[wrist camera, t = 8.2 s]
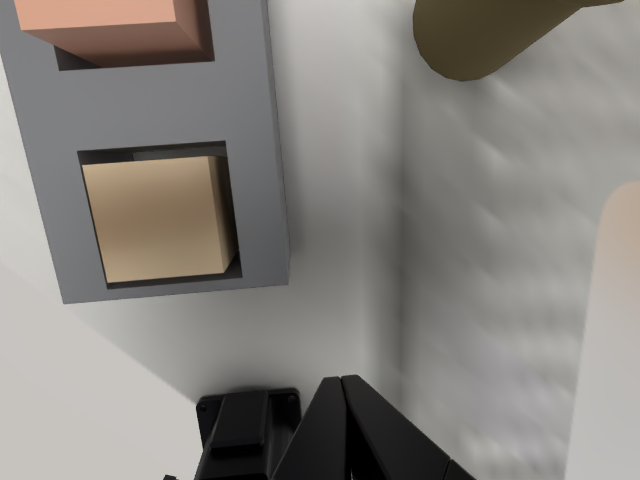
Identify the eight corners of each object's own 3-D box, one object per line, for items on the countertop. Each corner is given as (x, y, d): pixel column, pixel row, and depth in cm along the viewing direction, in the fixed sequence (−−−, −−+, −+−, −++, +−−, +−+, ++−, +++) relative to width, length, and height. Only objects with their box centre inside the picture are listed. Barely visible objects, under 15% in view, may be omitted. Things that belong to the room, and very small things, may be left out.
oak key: (243, 241, 21) (223, 272, 15) (159, 248, 21) (107, 282, 15) (233, 156, 20) (207, 156, 14) (143, 162, 19) (81, 165, 14)
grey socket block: (290, 255, 21) (288, 284, 16) (118, 269, 21) (63, 304, 16) (261, -59, 18) (246, -141, 13) (51, -49, 17) (-46, -129, 12)
